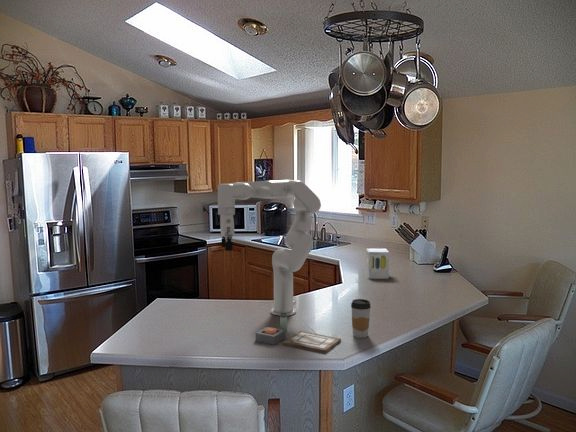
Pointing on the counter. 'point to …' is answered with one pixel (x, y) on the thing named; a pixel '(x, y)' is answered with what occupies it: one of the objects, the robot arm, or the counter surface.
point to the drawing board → (312, 341)
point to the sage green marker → (283, 321)
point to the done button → (270, 331)
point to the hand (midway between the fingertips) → (227, 248)
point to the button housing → (270, 336)
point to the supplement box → (377, 263)
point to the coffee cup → (360, 317)
